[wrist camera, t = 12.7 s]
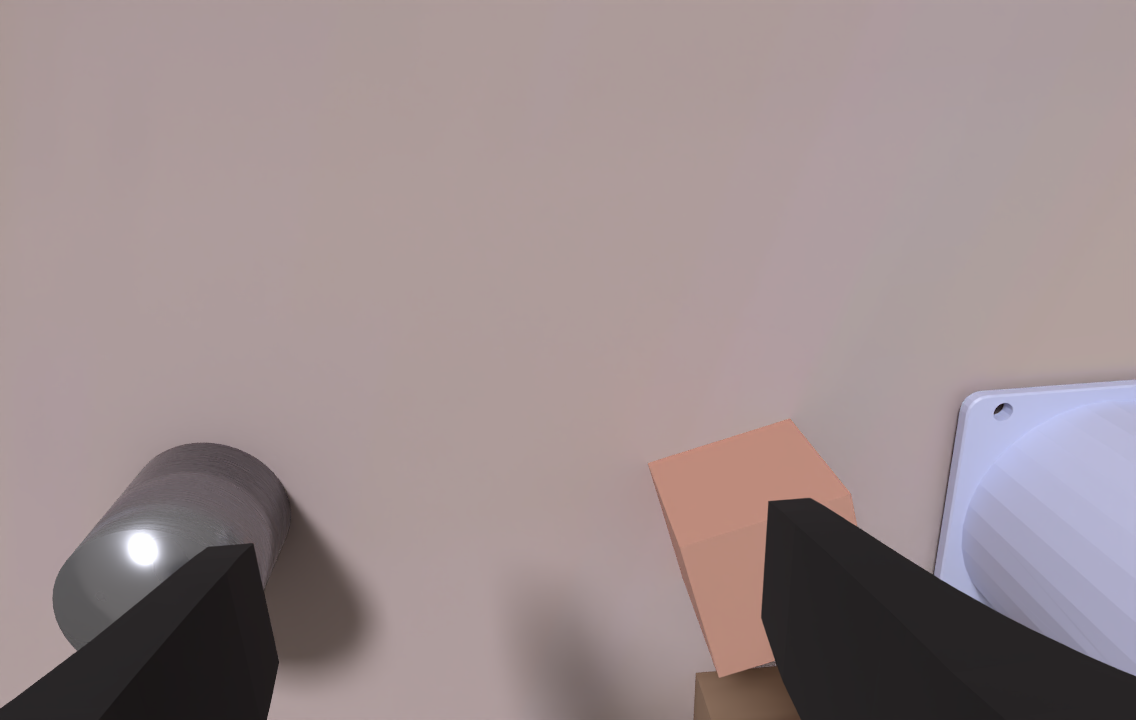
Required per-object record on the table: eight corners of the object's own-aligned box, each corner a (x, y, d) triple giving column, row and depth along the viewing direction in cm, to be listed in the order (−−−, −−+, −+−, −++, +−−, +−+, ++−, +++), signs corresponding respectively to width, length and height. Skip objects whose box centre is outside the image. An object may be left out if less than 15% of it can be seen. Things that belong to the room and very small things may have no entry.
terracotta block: (788, 417, 22) (851, 493, 18) (814, 535, 23) (877, 629, 19) (647, 461, 22) (679, 547, 18) (682, 576, 23) (719, 678, 19)
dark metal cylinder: (277, 436, 20) (229, 522, 17) (302, 567, 22) (263, 674, 18) (114, 448, 20) (28, 539, 16) (151, 580, 22) (79, 691, 18)
